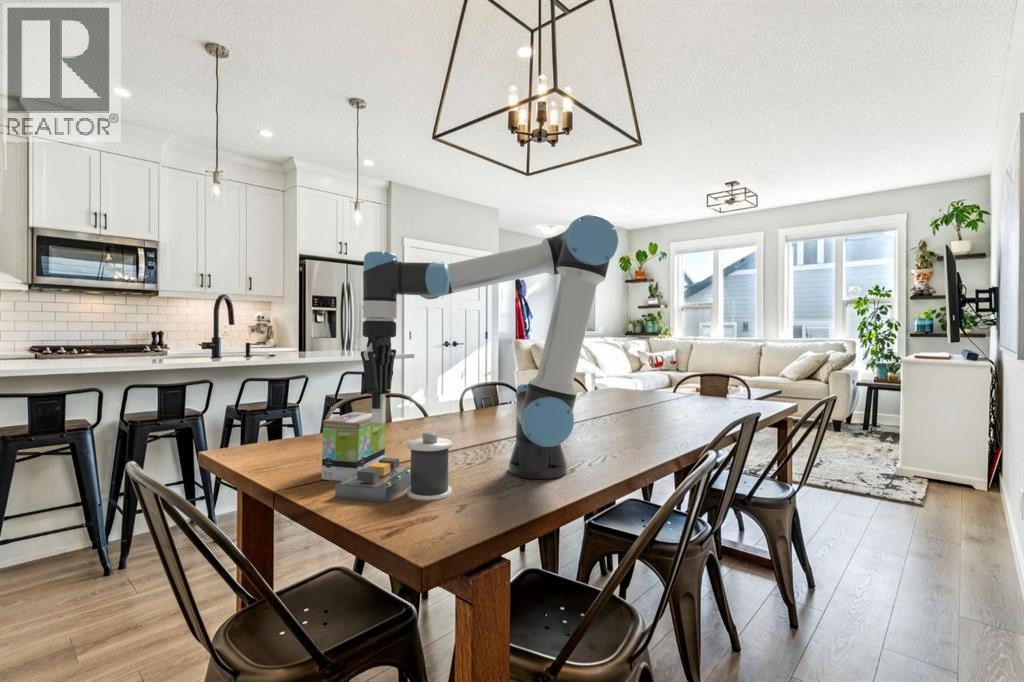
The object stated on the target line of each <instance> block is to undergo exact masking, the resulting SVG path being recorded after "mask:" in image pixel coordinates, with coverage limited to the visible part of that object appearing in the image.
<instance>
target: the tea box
mask: <svg viewBox="0 0 1024 682" xmlns="http://www.w3.org/2000/svg"><path fill="white" fill-rule="evenodd" d="M386 419H387V417H386V416H385V422H384V423H373V422H372V412H363V411H362V412H360V411H353V412H352V411H351V412H348V413H344V414H342V415H339V416H338V415H337V416H334V417H331V418H328V419H324V420H323V421H322V422H323V423H322V450H321V452H322V453H321V455H322V456H321V461H322V462H321V480H326V481H327V480H328V481H335V482H336V481H337V482H341V481H343V480H345V479H347V478H349V477H351V476H353V475H355V474H357V471H359V470H361V469H363V468H365V469H366V468H368V466H369V465H371V464H373V463H374V462H376V463H379V460H380V459H382V458H386V456H385V455H386V425H387V424H386V421H387V420H386Z"/></svg>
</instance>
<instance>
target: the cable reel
mask: <svg viewBox="0 0 1024 682" xmlns="http://www.w3.org/2000/svg"><path fill="white" fill-rule="evenodd" d="M406 443H407V444H406V445H407V447H406V448H407V449H409V450H410V468H411V486H409V487H408V488H407V489H406V496H407V497H408V498H410V499H411V500H416V501H424V502H428V501H432V502H433V501H438V500H443V499H447V498H448V497H450V496H451V495H452V491H453V489H452V487H451V486H450V485H449V452H450V451H449V449H450V448H452V447H453V441H452V440H450V439H448V438H444V437H438V433H437V432H435V431H434V432H433V431H428V432H427V431H426V432H423V433H422V437H421V438H414V439H411V440H409V441H407V442H406Z"/></svg>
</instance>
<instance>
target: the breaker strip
mask: <svg viewBox="0 0 1024 682" xmlns="http://www.w3.org/2000/svg"><path fill="white" fill-rule="evenodd" d="M366 469H368V468H366ZM410 487H411V466H399V467H398V468H396V469H395V470H392V469H390V473H388V474H386V475H384V476H379V479H378V480H376V481H374V482H369V481H358V480H357V474H355V475H353V476H351V477H349V478H347V479H345V480H343V481H338V483H336V484H335V487H334V491H335V492H334V493H335V494H334V496H335V499H340V500H350V501H361V502H362V501H363V502H371V503H381V504H382V503H383V504H386V503H389V502H390V501H391V500H392V499H394V498H395V497H397V496H398V495H399V494H401V493H403V491H405V490H407V489H408V488H410Z"/></svg>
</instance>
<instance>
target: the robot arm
mask: <svg viewBox="0 0 1024 682" xmlns="http://www.w3.org/2000/svg"><path fill="white" fill-rule="evenodd" d="M618 246H619V235H618V231H617V229H616V228H615V226H614V224H613V223H612V222H611V221H610V220H609V219H608V218H606V217H604V216H602V215H599V214H593V213H591V214H584V215H582V216H579V217H577V218H576V219H574V220H573V221H572V222H570V224H569V226H568V228H567V229H566V230H564V231H563V232H561V233H559V234H556V235H554V236H551V237H547V238H543V240H542V241H541V243H539V244H538V243H537V244H533V245H529V246H524V247H519V248H516V249H511V250H506V251H503V252H502V251H501V252H498V253H493V254H487V255H483V256H480V257H474V258H470V259H466V260H461V261H460V260H459V261H456V262H451V263H447V264H446V263H441V262H440V263H439V262H435V261H432V262H403V261H399V259H398V255H397V254H396V253H394V252H390V251H380V250H379V251H378V250H377V251H369V252H367V253H365V254H364V258H363V268H362V269H363V270H362V292H363V293H362V295H363V296H362V307H361V308H362V317H363V318H364V319H365V320H364V321H363V322H362V336H363V338H367V342H366V350H361V351H360V358H361V359H362V360H361V361H362V365H363V375H364V383H365V391H366V394H367V395H371V413H372V422H373V423H384V422H385V417H386V405H387V404H386V402H387V401H386V400H387V399H386V396H387V395H386V394H388V395H389V394H390V393H391V388H392V379H393V372H394V364H395V358H396V354H397V350H396V348H395V349H394V348H392V343H391V338H396V336H397V322H396V321H395V319H397V318H398V317H397V314H398V313H397V312H398V311H397V307H398V306H397V305H398V304H397V297H398V295H401V296H405V295H406V296H407V295H408V296H419V297H421V298H424V299H426V300H436V299H438V298H439V297H442V296H443V297H444V296H447V295H451V294H455V293H461V292H464V291H469V290H472V289H478V288H483V287H486V286H491V285H496V284H501V283H505V282H506V283H507V282H510V281H514V280H518V279H524V278H527V277H531V276H537V275H541V274H546V273H547V274H549V275H550V276H556V275H559V276H560V281H559V284H558V288H557V292H556V297H555V299H554V300H555V301H554V305H553V309H552V312H551V317H550V321H549V325H548V328H547V329H548V330H547V333H546V338H545V341H544V345H543V349H542V354H541V359H540V361H539V366H538V369H537V375H536V376H535V377H533V378H532V379H530V380H528V383H526V384H525V383H521V384H519V385H517V387H516V393H515V398H516V405H515V406H516V408H515V409H516V413H515V415H516V418H515V419H516V420H515V423H516V425H515V428H516V429H515V443H514V447H513V448H512V449H513V450H512V453H511V455H510V458H509V462H508V472H509V473H510V474H511V475H513V476H514V477H515V476H516V477H519V478H524V479H531V480H550V479H556V478H560V477H563V476H565V475H566V474H567V461H566V460H567V459H566V458H565V454H564V450H563V447H562V443H564V442H565V441H566V440H567V439H568V438H569V437H570V436H571V434H572V432H573V429H574V425H575V415H574V412H573V411H574V408H575V403H576V400H577V395H578V393H577V390H576V389H575V387H574V385H573V384H574V380H575V377H576V372H577V367H578V364H579V360H580V355H581V350H582V347H583V342H584V340H585V335H586V332H587V331H586V330H587V326H588V322H589V318H590V315H591V310H592V306H593V303H594V299H595V294H596V289H597V287H598V285H599V284H600V283H602V282H604V281H605V280H606V276H607V274H608V269H609V265H610V261H611V260H612V259H613V257H614V256H615V253H616V252H617V250H618Z"/></svg>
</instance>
